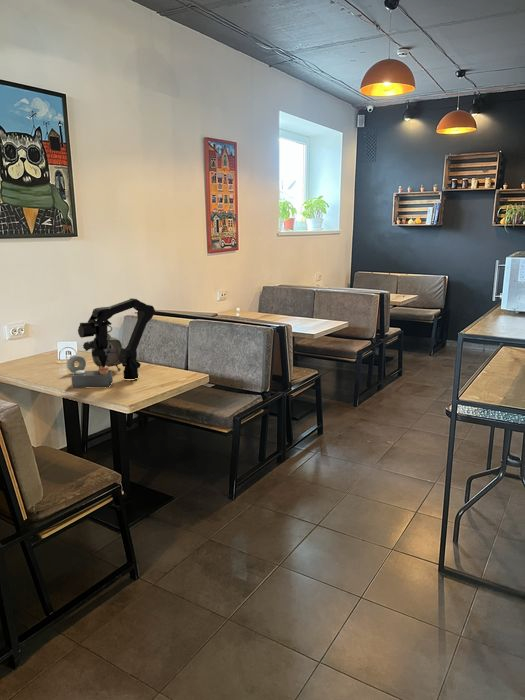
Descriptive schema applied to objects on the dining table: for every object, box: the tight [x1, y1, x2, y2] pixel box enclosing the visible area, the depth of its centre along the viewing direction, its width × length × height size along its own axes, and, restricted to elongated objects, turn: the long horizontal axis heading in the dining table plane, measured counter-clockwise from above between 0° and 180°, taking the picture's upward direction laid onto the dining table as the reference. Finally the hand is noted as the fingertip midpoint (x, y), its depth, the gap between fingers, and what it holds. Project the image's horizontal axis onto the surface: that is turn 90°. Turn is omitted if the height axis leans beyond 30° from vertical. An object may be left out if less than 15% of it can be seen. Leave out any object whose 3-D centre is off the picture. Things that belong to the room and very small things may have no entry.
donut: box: [66, 354, 87, 374], centre depth 267 cm, size 10×4×10 cm, turn 138°
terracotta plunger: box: [98, 366, 109, 374], centre depth 246 cm, size 4×4×6 cm
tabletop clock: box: [91, 325, 123, 372], centre depth 270 cm, size 14×9×25 cm, turn 118°
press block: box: [71, 369, 114, 389], centre depth 246 cm, size 17×9×6 cm, turn 96°
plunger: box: [75, 369, 86, 375], centre depth 245 cm, size 4×4×6 cm
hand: (103, 366), depth 245 cm, fingers closed, pressing on terracotta plunger
